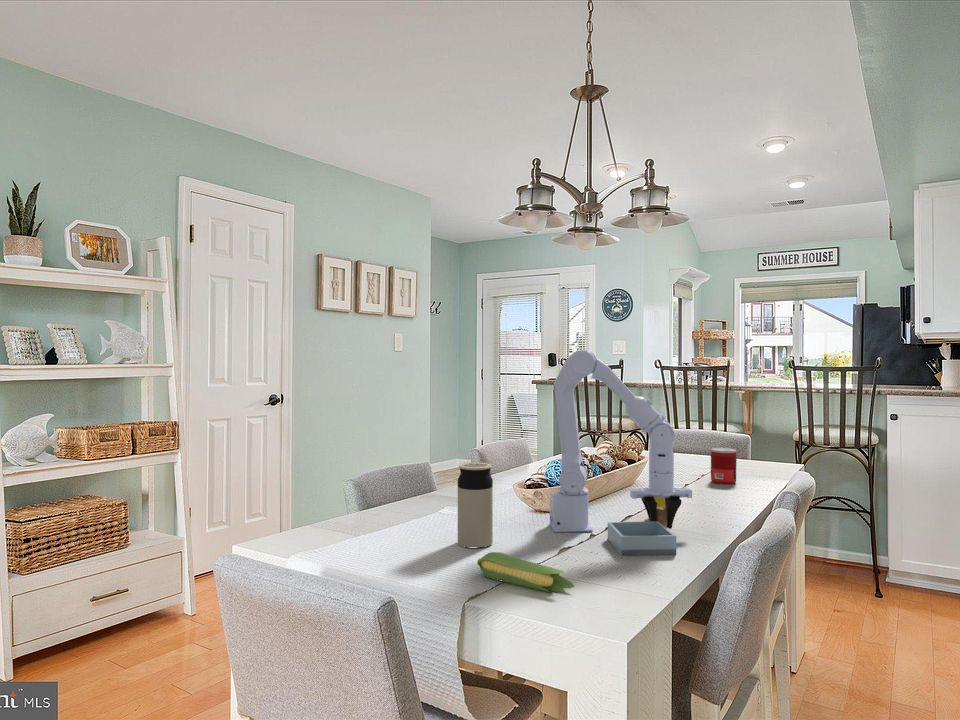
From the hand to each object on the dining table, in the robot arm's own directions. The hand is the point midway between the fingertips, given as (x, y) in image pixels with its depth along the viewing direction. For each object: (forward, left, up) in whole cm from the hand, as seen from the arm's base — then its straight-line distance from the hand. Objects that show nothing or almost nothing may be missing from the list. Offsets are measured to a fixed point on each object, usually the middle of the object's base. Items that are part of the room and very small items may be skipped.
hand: (660, 527), depth 157 cm
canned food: (+41, +59, -2) cm, 72 cm away
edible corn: (-37, -32, -2) cm, 49 cm away
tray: (-8, -10, -1) cm, 13 cm away
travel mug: (-45, -6, -2) cm, 45 cm away
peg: (0, 0, -1) cm, 1 cm away
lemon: (+4, +14, -2) cm, 15 cm away
